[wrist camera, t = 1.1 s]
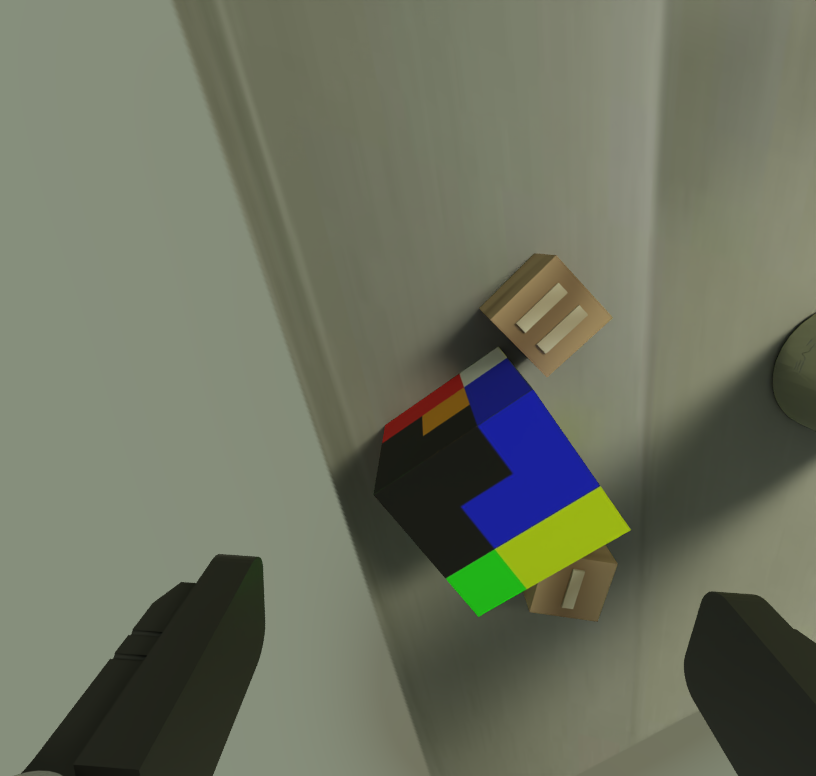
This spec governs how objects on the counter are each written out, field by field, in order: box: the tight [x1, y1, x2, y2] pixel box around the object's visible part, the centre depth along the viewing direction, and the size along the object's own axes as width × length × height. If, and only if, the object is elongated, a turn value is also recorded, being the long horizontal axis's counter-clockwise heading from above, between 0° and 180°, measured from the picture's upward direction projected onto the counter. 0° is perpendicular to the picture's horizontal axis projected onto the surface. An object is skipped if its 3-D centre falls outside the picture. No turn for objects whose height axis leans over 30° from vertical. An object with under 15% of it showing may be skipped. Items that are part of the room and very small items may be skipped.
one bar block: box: [523, 545, 618, 622], centre depth 35 cm, size 5×5×5 cm
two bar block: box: [479, 254, 613, 377], centre depth 29 cm, size 5×5×5 cm
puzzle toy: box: [374, 347, 631, 617], centre depth 30 cm, size 10×10×10 cm
